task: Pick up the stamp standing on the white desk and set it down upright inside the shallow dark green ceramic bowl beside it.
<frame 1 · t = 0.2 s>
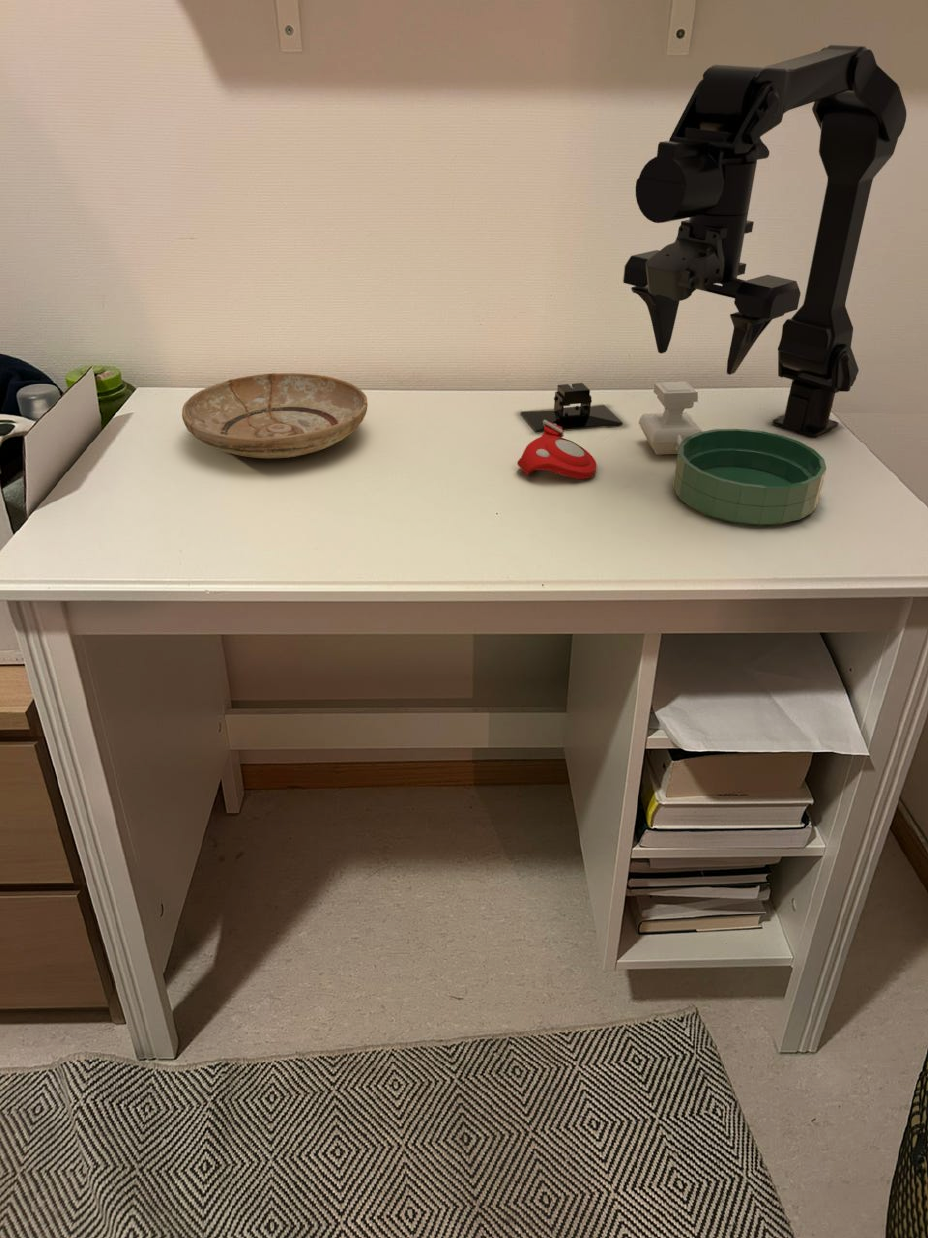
hand: (695, 362, 101), 15 cm above the table, tool pointing down, fingers open, 9 cm apart
ceramic bowl: (279, 439, 119), on the table
tracker holder: (558, 465, 114), on the table
stamp: (667, 451, 118), on the table
green bowl: (742, 495, 107), on the table
build plate: (570, 420, 126), on the table
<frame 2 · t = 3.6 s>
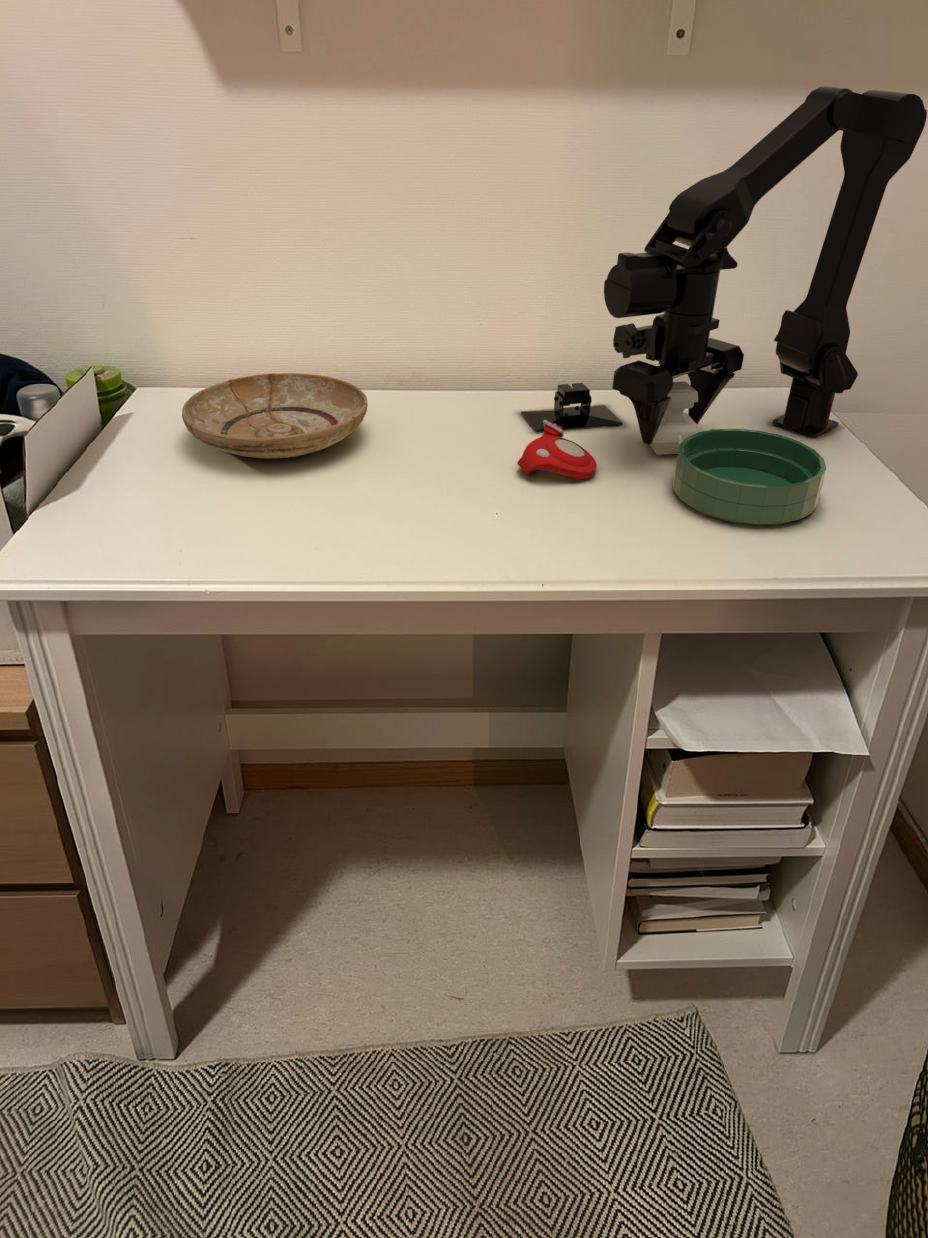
hand: (670, 434, 116), 2 cm above the table, tool pointing down, fingers closed on stamp, 9 cm apart
stamp: (667, 451, 118), on the table, touching gripper
everything else where it was.
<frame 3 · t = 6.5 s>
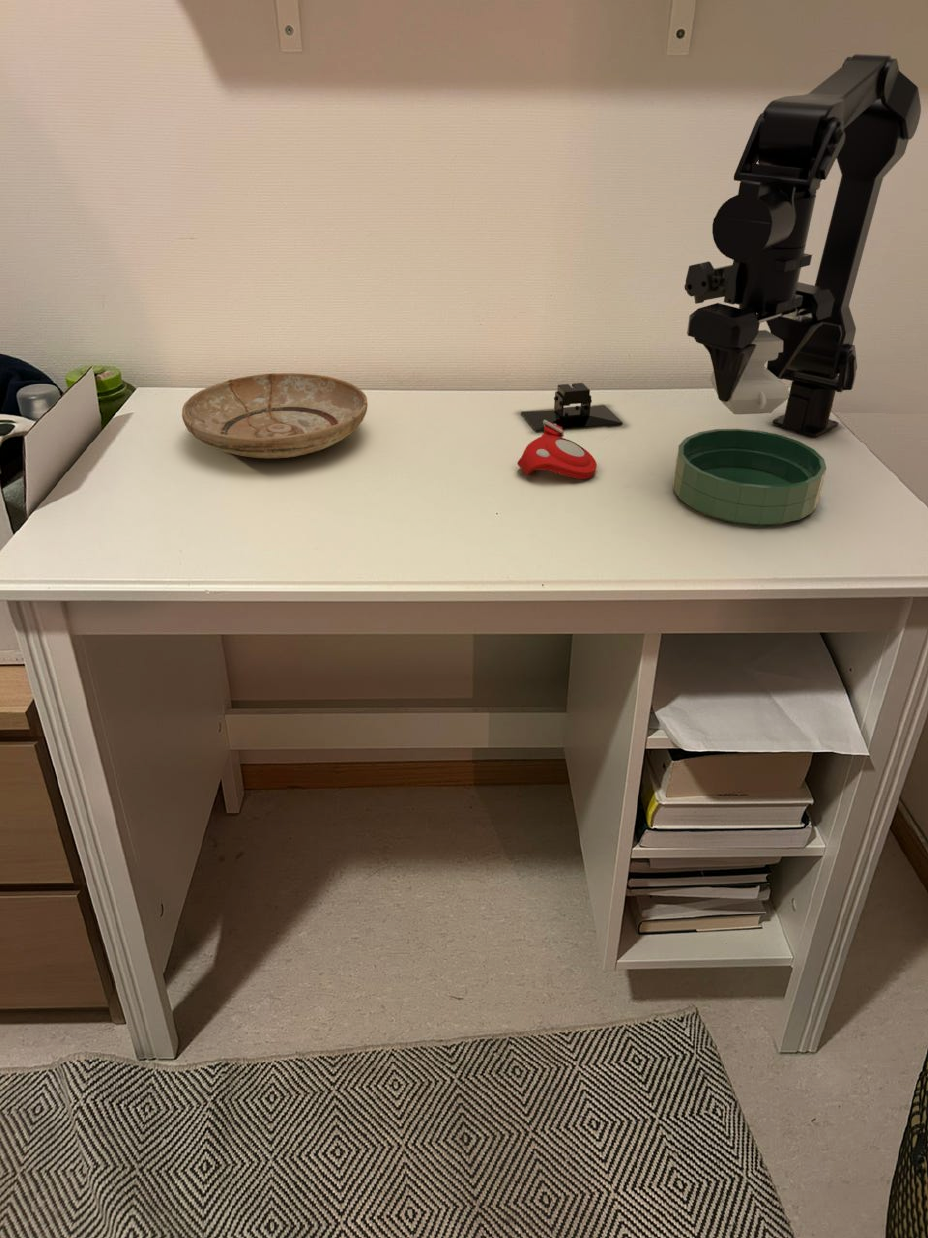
hand: (748, 391, 102), 12 cm above the table, tool pointing down, fingers closed on stamp, 9 cm apart
stamp: (744, 410, 103), point 9 cm above the table, touching gripper
everything else where it was.
when the fingers open (3 cm above the table, at t = 9.4 s): stamp stays where it is, resting on green bowl.
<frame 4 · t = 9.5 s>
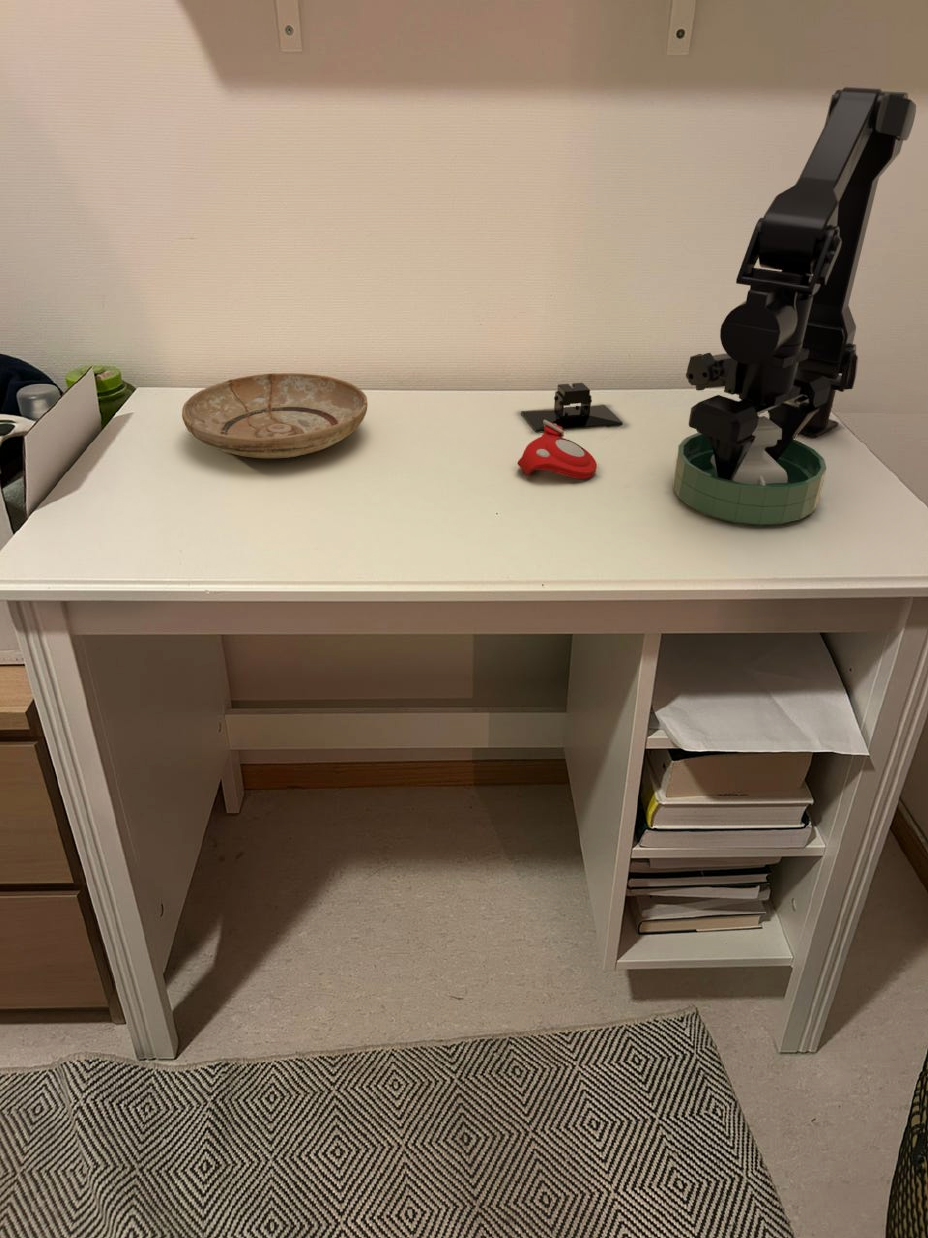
hand: (747, 473, 105), 3 cm above the table, tool pointing down, fingers open, 9 cm apart
stamp: (743, 492, 107), resting on green bowl, touching gripper
everything else where it was.
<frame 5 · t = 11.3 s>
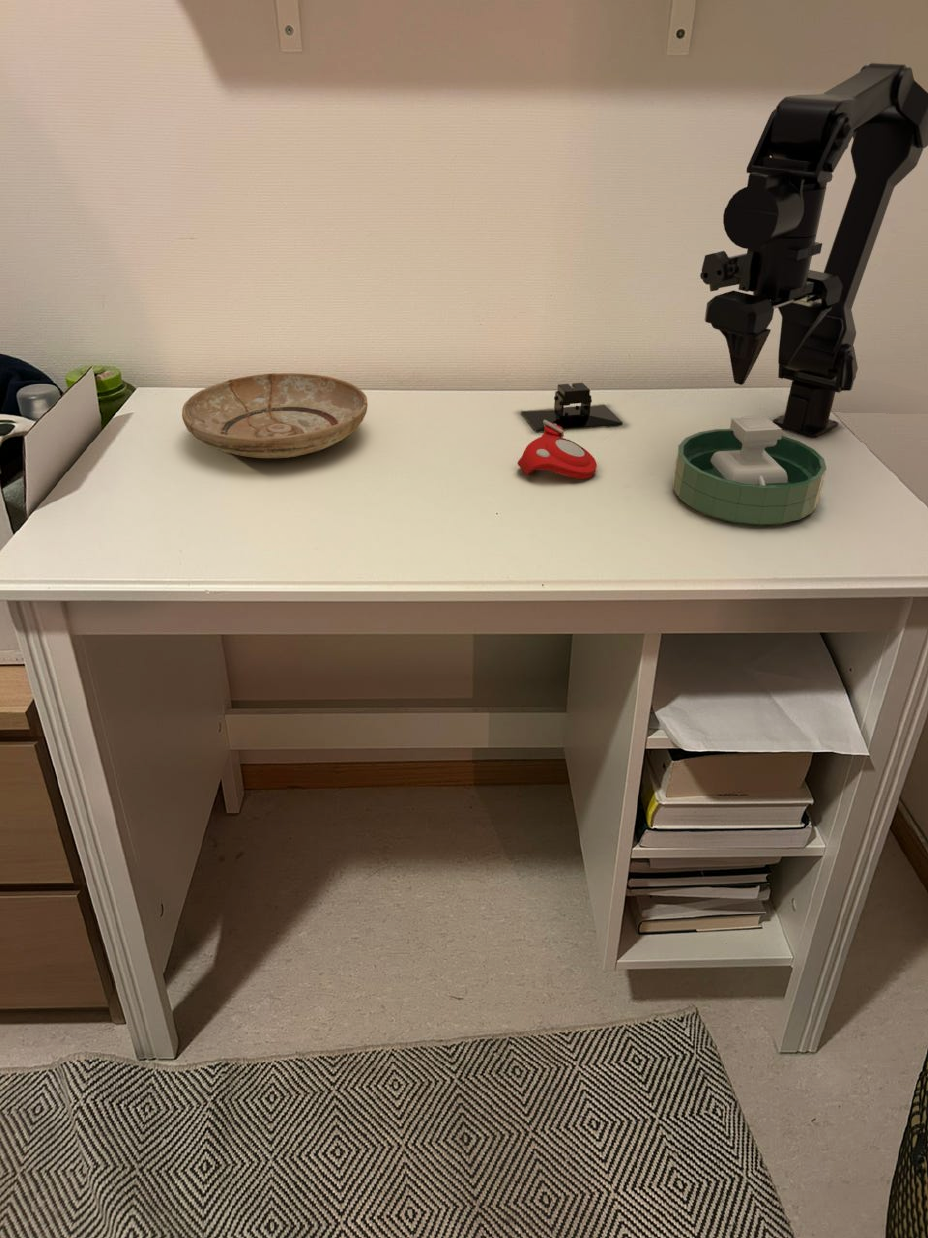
hand: (761, 374, 107), 12 cm above the table, tool pointing down, fingers open, 9 cm apart
stamp: (743, 492, 107), resting on green bowl
everything else where it was.
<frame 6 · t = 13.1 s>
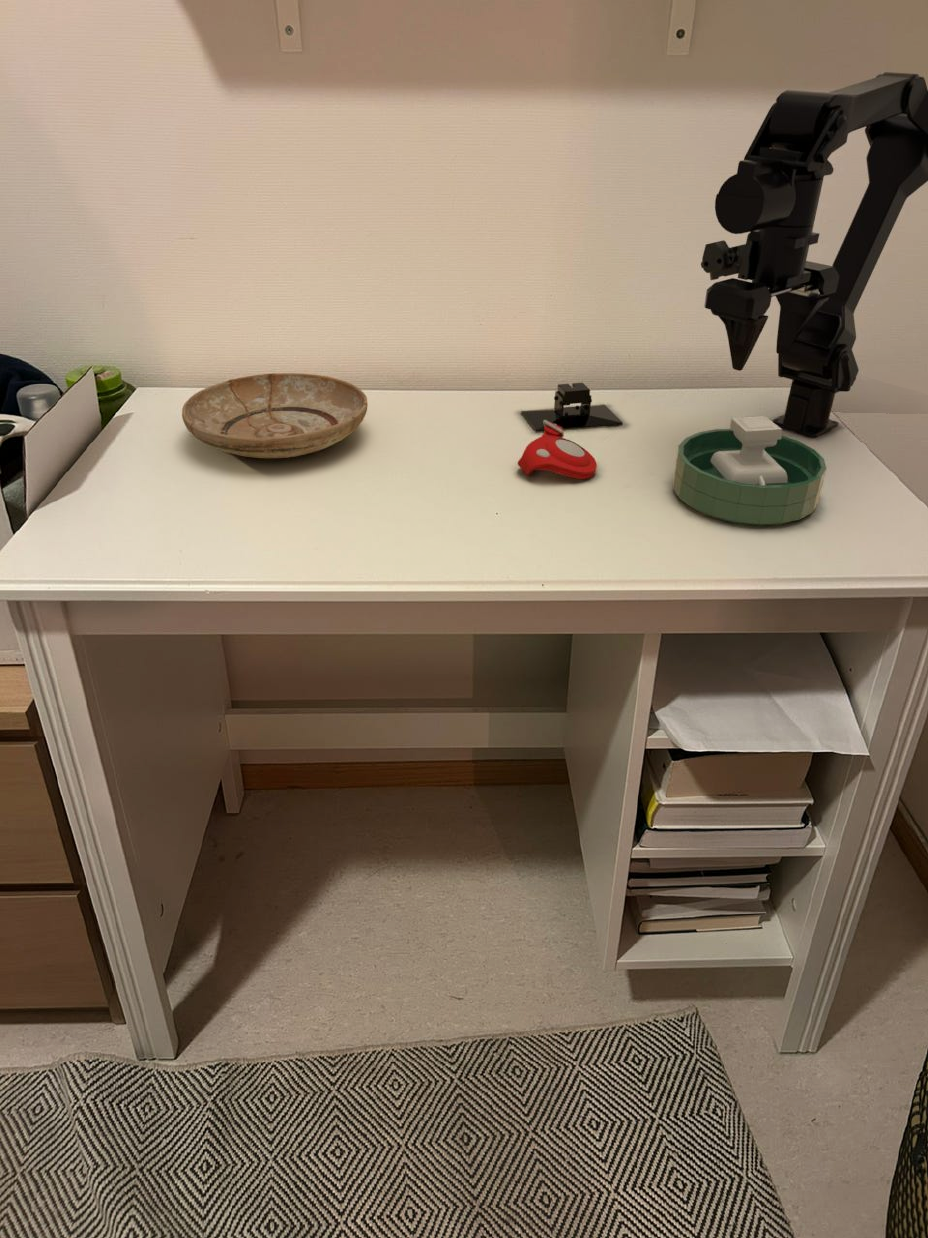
hand: (759, 361, 110), 12 cm above the table, tool pointing down, fingers open, 9 cm apart
nothing on the table moved.
at the end: stamp inside the target area in the green bowl (0.1 cm from its centre), point 0.4 cm above the green bowl's base; stamp tilted 0°; the gripper is holding nothing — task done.
